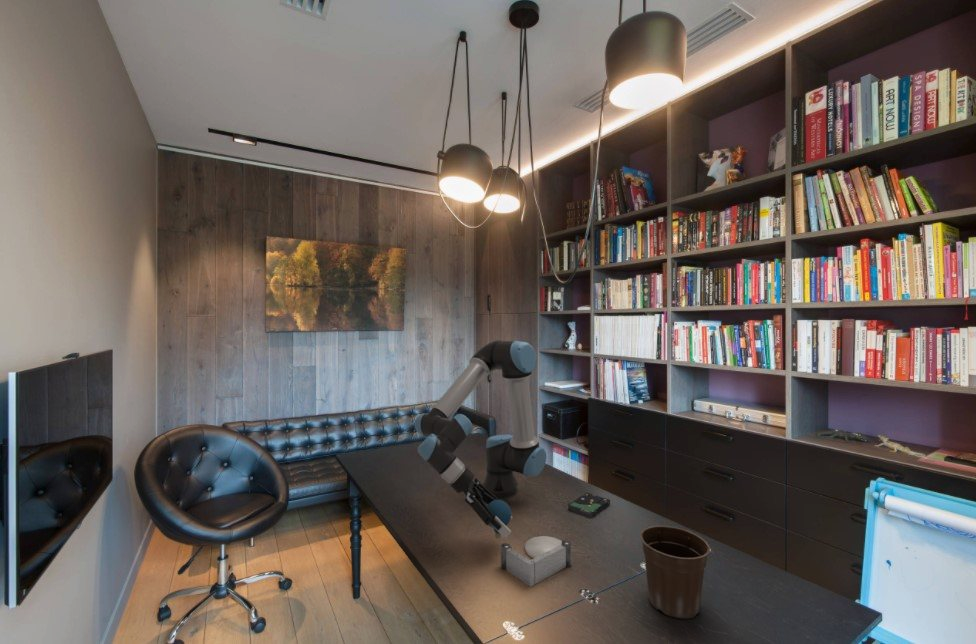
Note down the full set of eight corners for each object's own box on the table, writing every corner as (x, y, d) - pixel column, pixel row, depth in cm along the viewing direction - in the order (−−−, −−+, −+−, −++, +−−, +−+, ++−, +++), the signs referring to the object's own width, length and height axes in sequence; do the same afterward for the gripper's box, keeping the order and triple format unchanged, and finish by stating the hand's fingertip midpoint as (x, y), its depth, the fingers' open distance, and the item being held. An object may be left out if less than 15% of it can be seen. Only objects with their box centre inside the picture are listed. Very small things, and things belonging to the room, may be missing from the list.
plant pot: (689, 582, 117) (689, 524, 116) (723, 625, 100) (723, 557, 100) (631, 584, 116) (630, 525, 116) (656, 627, 100) (656, 559, 100)
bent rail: (541, 546, 135) (541, 526, 135) (573, 564, 125) (573, 543, 125) (498, 567, 124) (498, 545, 124) (530, 588, 114) (530, 565, 114)
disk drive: (586, 499, 172) (567, 511, 161) (586, 492, 172) (567, 503, 161) (610, 506, 165) (592, 519, 154) (610, 499, 165) (592, 511, 154)
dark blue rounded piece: (489, 547, 129) (488, 508, 129) (482, 533, 137) (481, 497, 137) (515, 543, 131) (514, 505, 131) (506, 530, 139) (506, 493, 139)
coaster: (544, 535, 142) (544, 532, 142) (575, 551, 132) (575, 548, 132) (516, 548, 134) (516, 545, 134) (546, 566, 124) (546, 563, 124)
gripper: (455, 471, 146) (502, 519, 144) (442, 498, 125) (497, 554, 123) (470, 456, 145) (518, 504, 144) (460, 480, 124) (515, 536, 123)
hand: (508, 527), depth 134 cm, fingers closed on dark blue rounded piece, 8 cm apart
